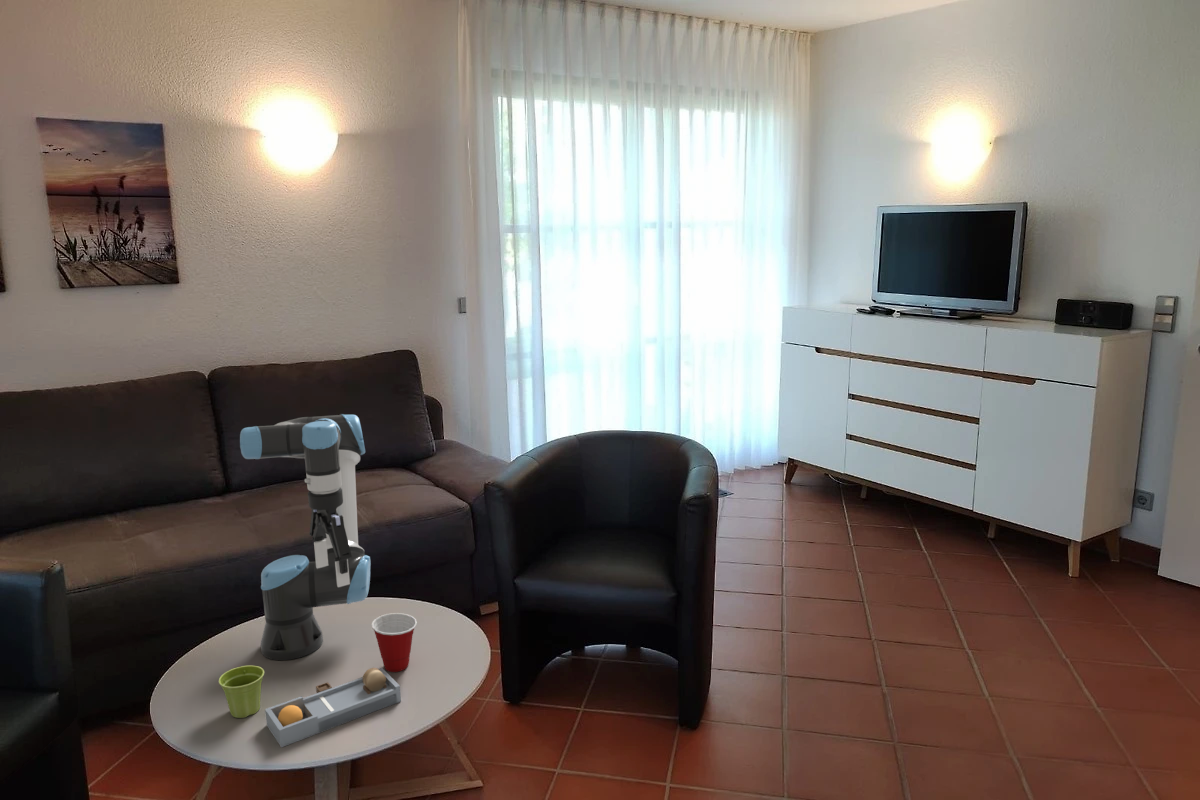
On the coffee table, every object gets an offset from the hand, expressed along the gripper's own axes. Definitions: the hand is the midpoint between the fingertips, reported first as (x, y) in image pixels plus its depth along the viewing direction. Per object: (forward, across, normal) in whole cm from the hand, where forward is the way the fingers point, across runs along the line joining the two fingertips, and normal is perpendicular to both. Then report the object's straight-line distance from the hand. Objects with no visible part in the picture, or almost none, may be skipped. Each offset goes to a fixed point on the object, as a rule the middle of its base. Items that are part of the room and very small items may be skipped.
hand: (332, 575), depth 195 cm
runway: (+27, +13, -6) cm, 30 cm away
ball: (+24, +13, -16) cm, 32 cm away
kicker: (+24, +13, +3) cm, 28 cm away
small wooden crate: (+27, +5, -6) cm, 28 cm away
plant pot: (+27, -1, -22) cm, 35 cm away
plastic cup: (+27, +3, +13) cm, 30 cm away
